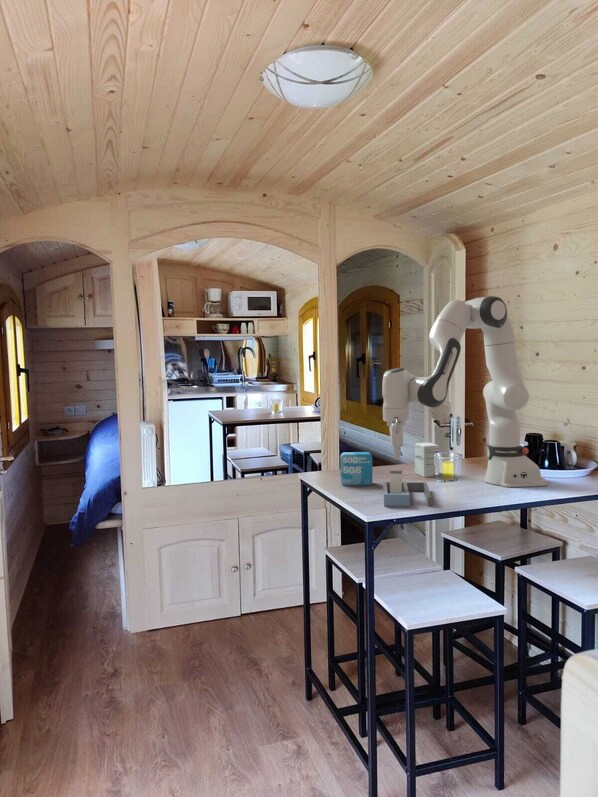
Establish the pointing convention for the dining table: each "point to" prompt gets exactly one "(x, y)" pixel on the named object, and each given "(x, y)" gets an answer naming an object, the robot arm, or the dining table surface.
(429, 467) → the supplement box
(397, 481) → the beige rectangular block
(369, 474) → the data package
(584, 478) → the dining table surface
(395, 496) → the grey open compartment holder
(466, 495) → the dining table surface
